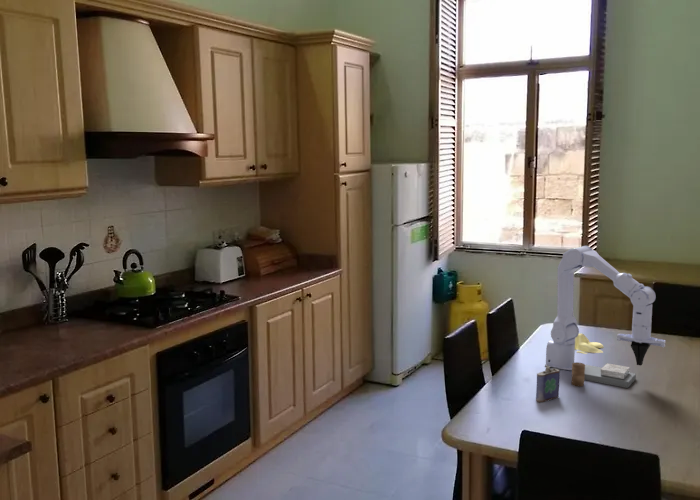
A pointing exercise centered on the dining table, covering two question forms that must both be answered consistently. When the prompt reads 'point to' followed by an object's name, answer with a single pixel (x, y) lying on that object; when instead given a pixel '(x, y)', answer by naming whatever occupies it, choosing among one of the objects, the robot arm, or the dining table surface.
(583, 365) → the pin
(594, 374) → the grey flat frame
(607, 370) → the sliding cover
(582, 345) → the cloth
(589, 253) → the robot arm
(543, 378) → the flask
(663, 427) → the dining table surface
